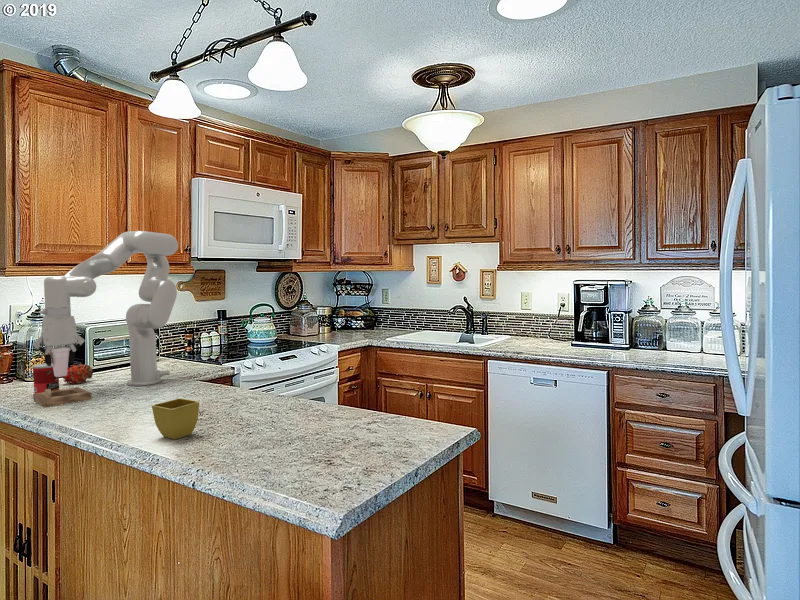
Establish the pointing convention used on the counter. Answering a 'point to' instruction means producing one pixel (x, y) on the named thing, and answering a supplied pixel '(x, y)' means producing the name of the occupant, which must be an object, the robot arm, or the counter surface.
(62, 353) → the smoothie
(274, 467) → the counter surface
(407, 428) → the counter surface
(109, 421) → the counter surface
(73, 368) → the dragon fruit
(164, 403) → the flower pot
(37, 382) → the canned food
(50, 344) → the robot arm
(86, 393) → the wooden tray
